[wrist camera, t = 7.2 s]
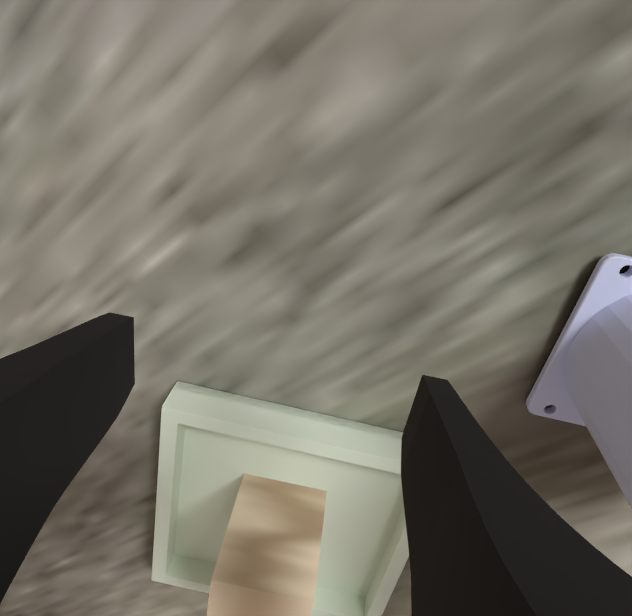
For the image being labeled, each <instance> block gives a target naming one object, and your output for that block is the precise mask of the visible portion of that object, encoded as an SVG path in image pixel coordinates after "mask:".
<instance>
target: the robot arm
mask: <svg viewBox="0 0 632 616" xmlns="http://www.w3.org/2000/svg"><path fill="white" fill-rule="evenodd" d="M626 265H630V267H629V269H628V271H627V272H625V273H621V274H619V272H620V269H621V268H622V267H624V266H626ZM134 384H135V377H134V317H129V316H124V315H119V314H114V313H107V314H104V315H102V316H99V317H97V318H94V319H92V320H90V321H87V322H85V323H83V324H81V325H78V326H76V327H74V328H72V329H70V330H67V331H65V332H63V333H61V334H58V335H56V336H54V337H52V338H49V339H47V340H45V341H43V342H40V343H38V344H36V345H33V346H31V347H29V348H26V349H24V350H21V351H18V352H16V353H13V354H11V355H8V356H6V357H3V358H1V359H0V603H1V601H2V599H3V597H4V595H5V593H6V591H7V589H8V588H9V586H10V584H11V582H12V580H13V578H14V577H15V575H16V573H17V571H18V569H19V567H20V566H21V564H22V562H23V560H24V558H25V556H26V555H27V553H28V551H29V549H30V547H31V545H32V544H33V542H34V540H35V539H36V537H37V535H38V533H39V532H40V530H41V528H42V526H43V525H44V523H45V521H46V519H47V518H48V516H49V514H50V512H51V511H52V509H53V507H54V506H55V504H56V503H57V501H58V500H59V498H60V497H61V495H62V494H63V492H64V491H65V489H66V488H67V487H68V485H69V484H70V482H71V481H72V480H73V478H74V477H75V476H76V474H77V473H78V471H79V470H80V469H81V467H82V466H83V464H84V463H85V462H86V460H87V459H88V457H89V456H90V455H91V453H92V452H93V451H94V449H95V448H96V446H97V445H98V444H99V442H100V441H101V439H102V438H103V437H104V435H105V434H106V432H107V431H108V430H109V428H110V427H111V425H112V424H113V422H114V421H115V419H116V418H117V416H118V415H119V413H120V411H121V409H122V407H123V405H124V404H125V402H126V400H127V398H128V396H129V394H130V392H131V390H132V388H133V386H134ZM548 405H553V406H552V407H551V408H545V407H546V406H548ZM526 406H527V409H528V411H529V412H530V413H532V414H534V415H538V416H542V417H547V418H551V419H555V420H560V421H564V422H569V423H573V424H577V425H582V426H586V427H587V429H588V430H589V432H590V434H591V436H592V438H593V439H594V441H595V443H596V445H597V447H598V449H599V450H600V452H601V454H602V456H603V458H604V459H605V461H606V463H607V465H608V467H609V469H610V470H611V472H612V474H613V476H614V478H615V479H616V481H617V483H618V485H619V487H620V488H621V490H622V492H623V494H624V496H625V498H626V499H627V501H628V503H629V505H630V507H631V508H632V257H630V256H626V255H621V254H617V253H610V254H607V255H605V256H603V257H602V258H601V259H600V260H599V261H598V263H597V265H596V267H595V269H594V271H593V273H592V274H591V276H590V278H589V280H588V282H587V284H586V286H585V288H584V290H583V292H582V294H581V296H580V298H579V300H578V301H577V303H576V305H575V307H574V309H573V311H572V313H571V315H570V317H569V319H568V321H567V323H566V325H565V327H564V328H563V330H562V332H561V334H560V336H559V338H558V340H557V342H556V344H555V346H554V348H553V350H552V352H551V354H550V355H549V357H548V359H547V361H546V363H545V365H544V367H543V369H542V371H541V373H540V375H539V377H538V379H537V381H536V382H535V384H534V386H533V388H532V390H531V392H530V394H529V396H528V398H527V400H526ZM401 482H402V492H403V502H404V511H405V520H406V530H407V539H408V548H409V557H410V569H411V601H412V616H632V577H631V576H630V575H629V574H627V573H626V572H625V571H623V570H622V569H621V568H620V567H618V566H617V565H616V564H614V563H613V562H612V561H611V560H609V559H608V558H607V557H606V556H605V555H603V554H602V553H601V552H600V551H598V550H597V549H596V548H595V547H594V546H592V545H591V544H590V543H589V542H588V541H587V540H586V539H584V538H583V537H582V536H581V535H580V534H579V533H578V532H577V531H575V530H574V529H573V528H572V527H571V526H570V525H569V524H568V523H566V522H565V521H564V520H563V519H562V518H561V517H560V516H559V515H558V514H557V513H556V512H555V511H554V510H553V509H552V508H551V507H550V506H549V505H548V504H547V503H546V502H545V501H544V500H543V499H542V498H541V497H540V496H539V495H538V494H537V493H536V492H535V491H534V490H533V489H532V488H531V487H530V486H529V485H528V484H527V483H526V482H525V481H524V479H523V478H522V477H521V476H520V475H519V474H518V473H517V472H516V470H515V469H514V468H513V467H512V466H511V464H510V463H509V462H508V461H507V460H506V459H505V457H504V456H503V455H502V454H501V453H500V451H499V450H498V449H497V448H496V446H495V445H494V444H493V443H492V441H491V440H490V439H489V437H488V436H487V435H486V433H485V432H484V431H483V429H482V428H481V427H480V425H479V424H478V423H477V421H476V420H475V418H474V417H473V416H472V414H471V413H470V411H469V410H468V409H467V407H466V406H465V404H464V403H463V401H462V400H461V399H460V397H459V396H458V394H457V393H456V391H455V390H454V388H453V387H452V386H451V384H450V383H449V382H448V380H445V379H440V378H435V377H430V376H425V375H422V378H421V381H420V384H419V387H418V390H417V393H416V396H415V399H414V402H413V405H412V408H411V411H410V414H409V417H408V420H407V423H406V426H405V429H404V432H403V435H402V443H401Z"/></svg>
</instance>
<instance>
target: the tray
mask: <svg viewBox="0 0 632 616" xmlns="http://www.w3.org/2000/svg"><path fill="white" fill-rule="evenodd" d="M402 435H403V432H399V431H394V430H390V429H386V428H381V427H377V426H372V425H368V424H364V423H359V422H355V421H350V420H346V419H342V418H337V417H333V416H329V415H324V414H320V413H315V412H311V411H307V410H302V409H298V408H293V407H289V406H285V405H280V404H276V403H272V402H267V401H263V400H258V399H254V398H250V397H245V396H241V395H236V394H232V393H228V392H223V391H219V390H215V389H210V388H206V387H201V386H197V385H193V384H188V383H184V382H179V381H177V382H176V384H175V385H174V387H173V389H172V390H171V392H170V394H169V395H168V397H167V399H166V400H165V402H164V404H163V405H162V412H161V429H160V446H159V463H158V480H157V497H156V514H155V531H154V548H153V565H152V581H156V582H161V583H165V584H169V585H174V586H178V587H182V588H187V589H191V590H195V591H200V592H204V593H210V585H211V579H212V576H213V572H214V569H215V566H216V563H217V559H218V556H219V553H220V550H221V547H222V543H223V540H224V537H225V534H226V530H227V527H228V524H229V521H230V517H231V514H232V511H233V508H234V505H235V501H236V498H237V495H238V492H239V488H240V485H241V482H242V479H243V476H244V473H245V474H250V475H254V476H259V477H264V478H268V479H273V480H278V481H283V482H287V483H292V484H297V485H301V486H306V487H311V488H315V489H320V490H325V491H327V494H326V503H325V511H324V520H323V529H322V538H321V547H320V556H319V565H318V574H317V583H316V592H315V601H314V605H313V609H312V612H311V615H310V616H382V614H383V612H384V609H385V607H386V605H387V603H388V601H389V599H390V596H391V594H392V592H393V590H394V588H395V586H396V583H397V581H398V579H399V577H400V575H401V573H402V570H403V568H404V566H405V564H406V562H407V560H408V557H409V548H408V539H407V530H406V520H405V511H404V502H403V492H402V482H401V443H402Z"/></svg>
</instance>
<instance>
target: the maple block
mask: <svg viewBox="0 0 632 616" xmlns="http://www.w3.org/2000/svg"><path fill="white" fill-rule="evenodd" d="M326 494H327V491H325V490H320V489H315V488H311V487H306V486H301V485H297V484H292V483H287V482H283V481H278V480H273V479H268V478H264V477H259V476H254V475H250V474H245V473H244V476H243V479H242V482H241V485H240V488H239V492H238V495H237V498H236V501H235V505H234V508H233V511H232V514H231V517H230V521H229V524H228V527H227V530H226V534H225V537H224V540H223V543H222V547H221V550H220V553H219V556H218V559H217V563H216V566H215V569H214V572H213V576H212V579H211V585H210V593H209V601H208V610H207V616H310V615H311V612H312V609H313V605H314V601H315V592H316V583H317V574H318V565H319V556H320V547H321V538H322V529H323V520H324V511H325V503H326Z"/></svg>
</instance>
